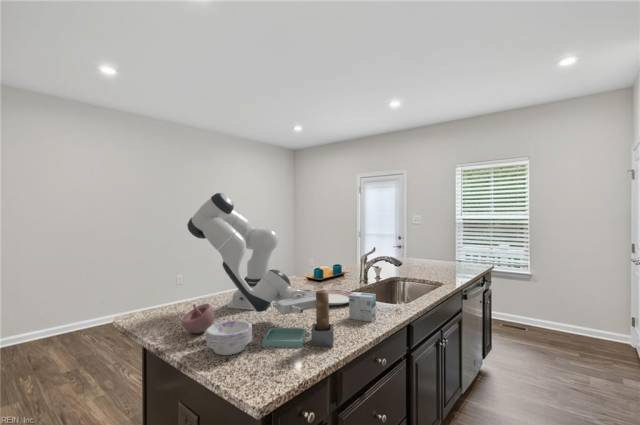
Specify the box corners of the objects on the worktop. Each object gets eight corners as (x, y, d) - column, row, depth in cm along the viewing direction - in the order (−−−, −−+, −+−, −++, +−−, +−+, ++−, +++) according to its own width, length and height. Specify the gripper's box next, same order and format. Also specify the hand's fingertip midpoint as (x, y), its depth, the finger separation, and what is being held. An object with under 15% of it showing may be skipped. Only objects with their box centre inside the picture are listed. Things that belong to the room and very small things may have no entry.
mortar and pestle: (178, 331, 126) (178, 302, 126) (208, 324, 133) (208, 297, 133) (186, 340, 117) (186, 310, 117) (218, 333, 124) (218, 304, 124)
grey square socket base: (311, 348, 109) (311, 331, 109) (313, 339, 117) (313, 323, 117) (333, 348, 109) (333, 331, 109) (333, 340, 116) (333, 323, 116)
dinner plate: (357, 294, 180) (357, 289, 180) (356, 309, 153) (356, 302, 153) (310, 293, 184) (310, 287, 184) (301, 307, 156) (301, 301, 156)
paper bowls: (232, 337, 119) (232, 316, 119) (261, 347, 111) (261, 324, 111) (196, 352, 107) (196, 329, 107) (225, 364, 98) (225, 339, 98)
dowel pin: (316, 344, 111) (315, 293, 110) (317, 339, 115) (316, 290, 115) (328, 345, 110) (328, 293, 110) (329, 339, 115) (328, 290, 115)
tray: (262, 347, 110) (262, 340, 110) (270, 334, 122) (270, 327, 122) (302, 348, 109) (302, 341, 109) (306, 335, 121) (305, 328, 121)
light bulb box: (376, 317, 140) (376, 293, 140) (372, 322, 134) (372, 297, 134) (353, 314, 145) (353, 291, 145) (348, 319, 139) (348, 294, 139)
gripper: (271, 296, 124) (287, 305, 112) (315, 289, 135) (333, 296, 123) (271, 312, 124) (287, 322, 112) (315, 304, 135) (334, 312, 123)
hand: (312, 308), depth 118 cm, fingers open, 8 cm apart
